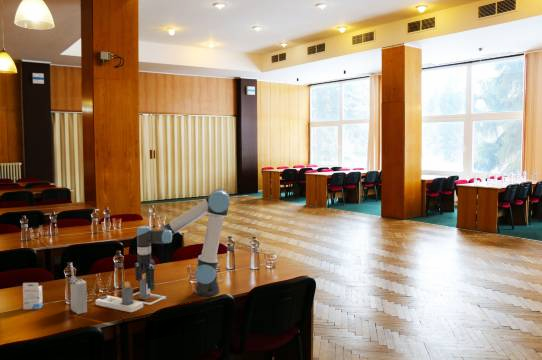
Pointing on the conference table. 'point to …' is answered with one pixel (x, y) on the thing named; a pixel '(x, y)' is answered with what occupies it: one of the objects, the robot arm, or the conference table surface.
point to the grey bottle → (143, 288)
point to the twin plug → (127, 294)
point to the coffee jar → (154, 281)
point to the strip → (118, 303)
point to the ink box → (32, 296)
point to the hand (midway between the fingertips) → (145, 293)
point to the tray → (151, 296)
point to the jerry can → (78, 294)
